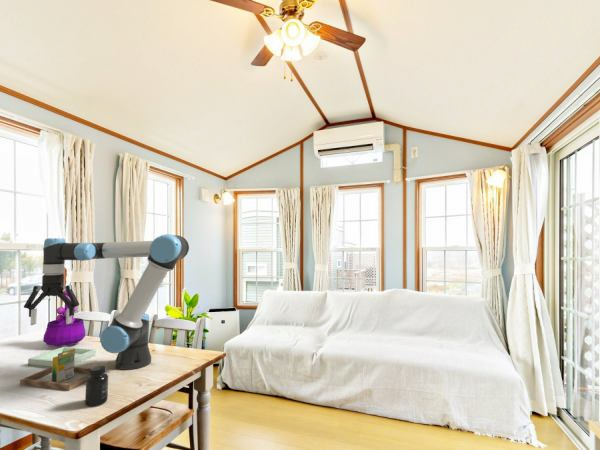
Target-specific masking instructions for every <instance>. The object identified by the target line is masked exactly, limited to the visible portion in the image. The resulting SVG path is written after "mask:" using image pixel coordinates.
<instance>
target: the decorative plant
mask: <svg viewBox="0 0 600 450" xmlns="http://www.w3.org/2000/svg"><path fill="white" fill-rule="evenodd" d="M63 292H64V293H65V295H66V296H67V297H68V299H69V300H70V298H69V296H68V294H67V292H66V290H65V289H64V290H63ZM70 301H71V300H70ZM77 307H78V306H76V307H74V313H75V311H76V310H77ZM68 308H69V307H68V306H67V305H66V304H65V303H64V307H63V306H60V307H57V308H56V311H55V312H56V314H58V315H56V317H55V320H51V321H49V322H47V325H46V329H45V332H44V334H43V339H42V340H43V343H45V345H47V346H52V347H69V346H71V345H74V344H76V343H79V342H81V341H83V339H84V338H85V337H86V328H85V322H84V318H79V317H74V316H72V319H71V323H70V324H66V317H67V309H68Z"/></svg>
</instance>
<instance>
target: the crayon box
mask: <svg viewBox="0 0 600 450" xmlns="http://www.w3.org/2000/svg"><path fill="white" fill-rule="evenodd" d="M66 352H69V353H66ZM64 353H66V354H64ZM74 358H75V349H72V350H68V351H65V352H62V353H59V354H58V356H57V357H53V367H52V373H51V382H59V383H61V382H63V381H64V380H65V381H66V380H67V379H70V378H74V376H75V374H74V373H75V372H74V366H75V365H74Z"/></svg>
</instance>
